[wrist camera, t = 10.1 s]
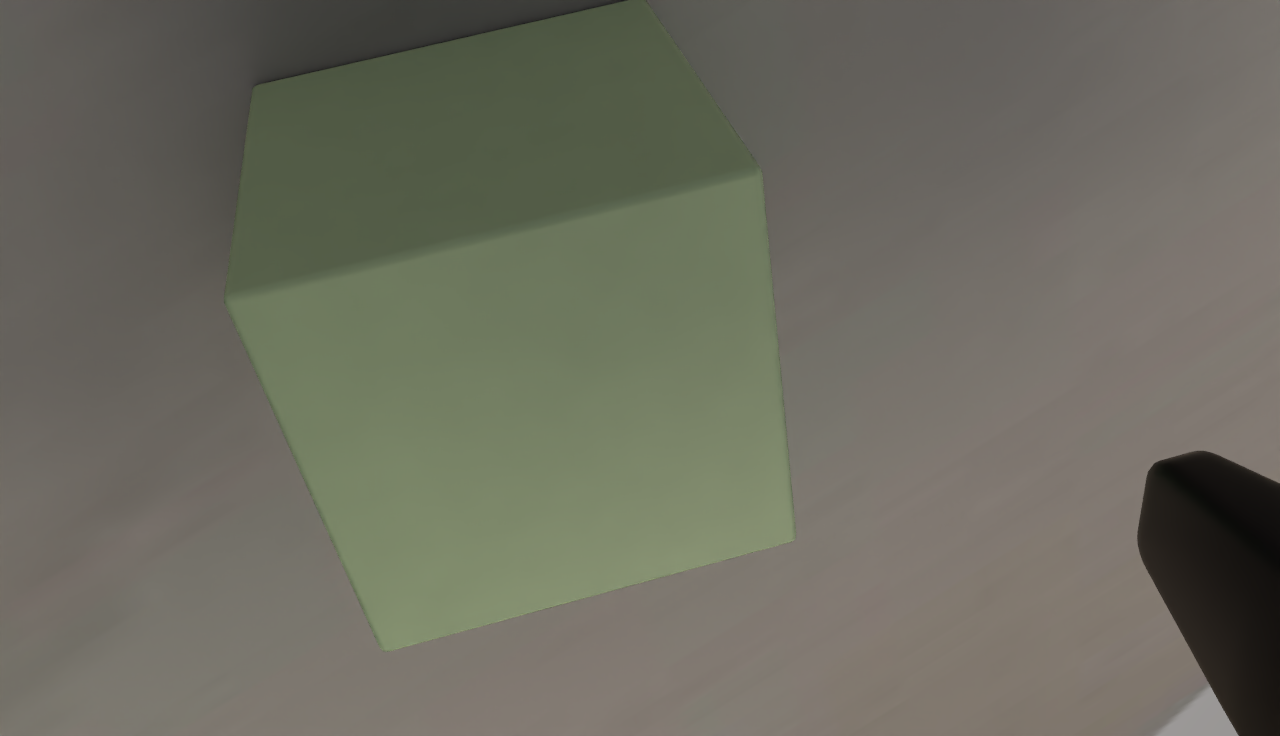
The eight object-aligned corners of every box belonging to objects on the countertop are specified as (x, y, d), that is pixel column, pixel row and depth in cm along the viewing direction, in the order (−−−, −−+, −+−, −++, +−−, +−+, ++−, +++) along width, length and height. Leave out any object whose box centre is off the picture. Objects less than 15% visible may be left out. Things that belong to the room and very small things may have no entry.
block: (250, 84, 13) (219, 299, 9) (645, -7, 13) (763, 167, 9) (369, 397, 15) (381, 656, 12) (692, 314, 16) (799, 543, 12)
